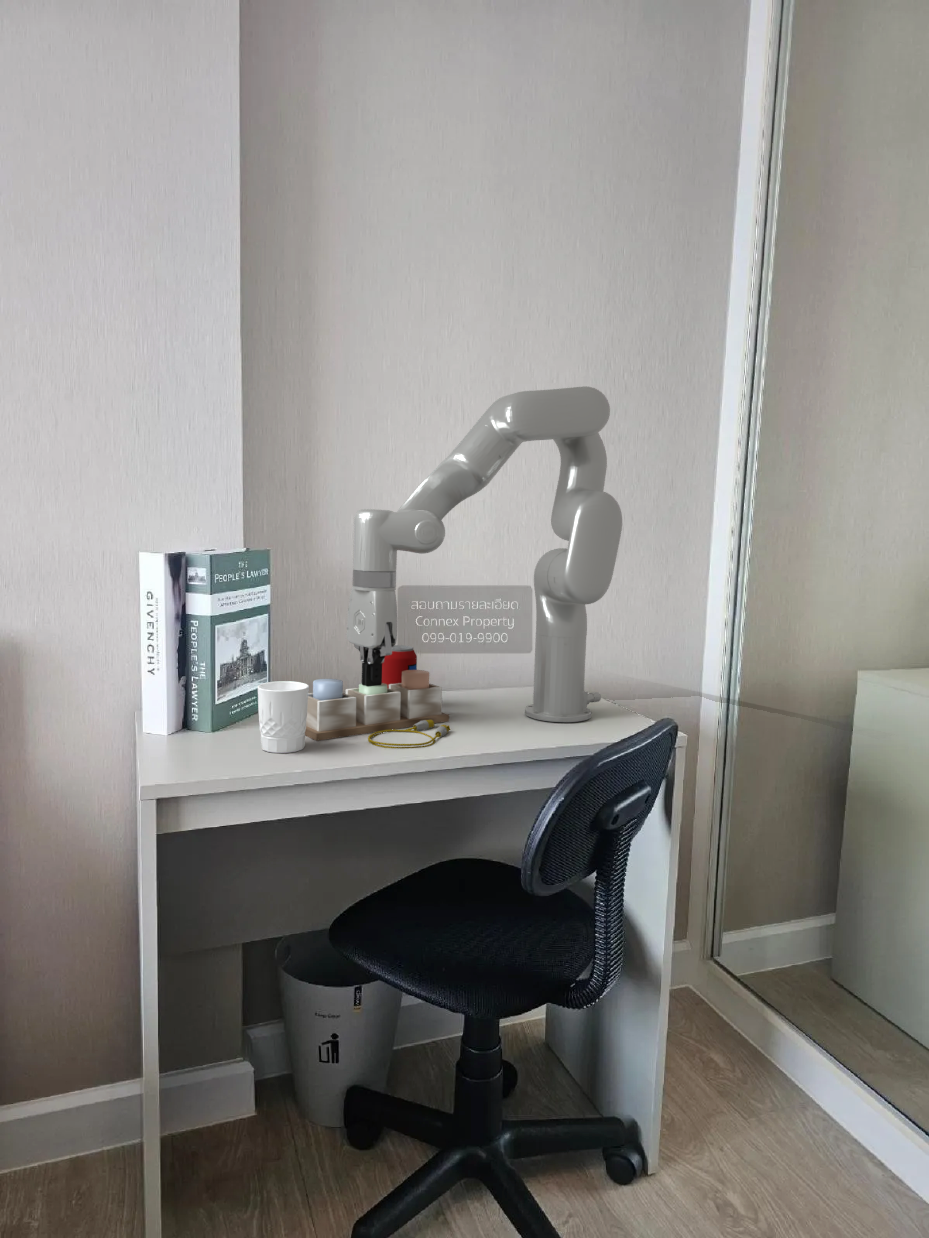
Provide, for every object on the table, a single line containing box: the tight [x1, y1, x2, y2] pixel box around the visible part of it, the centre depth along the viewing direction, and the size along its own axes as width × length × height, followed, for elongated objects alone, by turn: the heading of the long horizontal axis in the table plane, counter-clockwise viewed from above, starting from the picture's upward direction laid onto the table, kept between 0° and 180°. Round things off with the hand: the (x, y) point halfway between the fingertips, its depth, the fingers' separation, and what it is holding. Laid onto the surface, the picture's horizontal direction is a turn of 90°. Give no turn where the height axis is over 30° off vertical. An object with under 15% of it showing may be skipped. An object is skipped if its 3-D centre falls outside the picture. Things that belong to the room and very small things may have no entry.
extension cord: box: [367, 720, 452, 749], centre depth 151 cm, size 12×16×2 cm
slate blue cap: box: [312, 678, 344, 701], centre depth 153 cm, size 5×5×5 cm
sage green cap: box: [358, 683, 387, 695], centre depth 158 cm, size 5×5×5 cm
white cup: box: [257, 680, 310, 754], centre depth 142 cm, size 8×8×10 cm
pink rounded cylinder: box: [402, 669, 430, 690], centre depth 164 cm, size 5×5×5 cm
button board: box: [305, 683, 450, 742], centre depth 158 cm, size 27×9×6 cm, turn 127°
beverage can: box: [382, 644, 418, 688], centre depth 171 cm, size 7×7×12 cm
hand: (371, 684), depth 158 cm, fingers closed
